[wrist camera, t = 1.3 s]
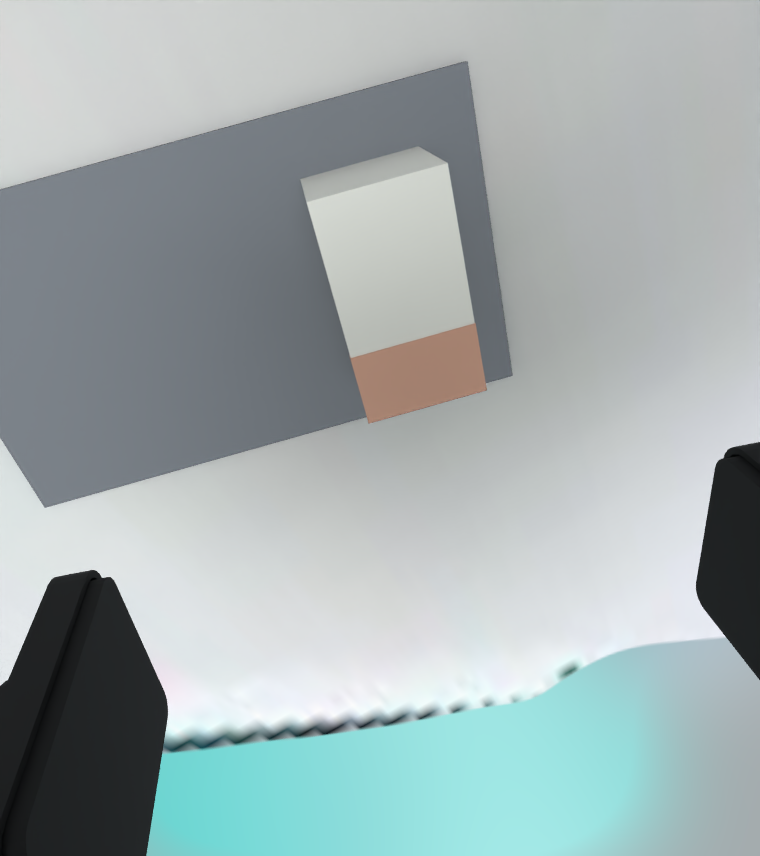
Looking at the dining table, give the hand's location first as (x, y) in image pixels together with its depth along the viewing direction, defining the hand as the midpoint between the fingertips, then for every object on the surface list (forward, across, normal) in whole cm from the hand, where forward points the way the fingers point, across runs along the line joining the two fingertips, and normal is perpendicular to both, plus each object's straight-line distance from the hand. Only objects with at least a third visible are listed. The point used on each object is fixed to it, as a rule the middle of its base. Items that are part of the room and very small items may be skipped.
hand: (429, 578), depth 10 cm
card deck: (+21, -2, +1) cm, 21 cm away
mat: (+21, +5, +2) cm, 22 cm away
